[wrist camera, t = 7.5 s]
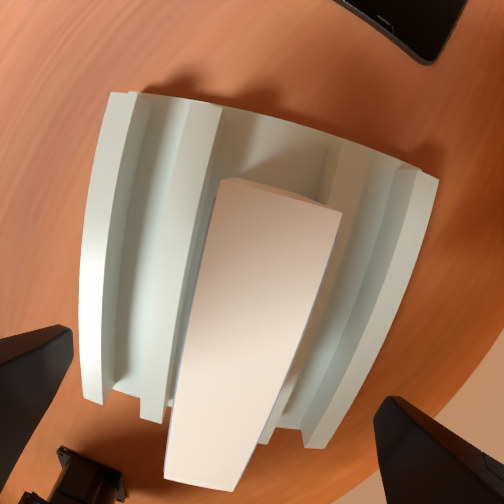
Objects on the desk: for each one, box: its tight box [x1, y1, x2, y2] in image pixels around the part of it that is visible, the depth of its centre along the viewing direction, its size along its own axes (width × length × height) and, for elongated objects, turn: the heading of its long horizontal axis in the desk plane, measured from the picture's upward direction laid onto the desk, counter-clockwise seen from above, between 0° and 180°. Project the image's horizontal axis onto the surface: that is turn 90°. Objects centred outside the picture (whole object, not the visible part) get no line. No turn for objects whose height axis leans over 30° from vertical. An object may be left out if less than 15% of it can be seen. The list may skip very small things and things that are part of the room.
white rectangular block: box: [163, 177, 342, 492], centre depth 10 cm, size 10×3×7 cm, turn 165°
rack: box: [79, 91, 439, 449], centre depth 13 cm, size 16×14×3 cm
